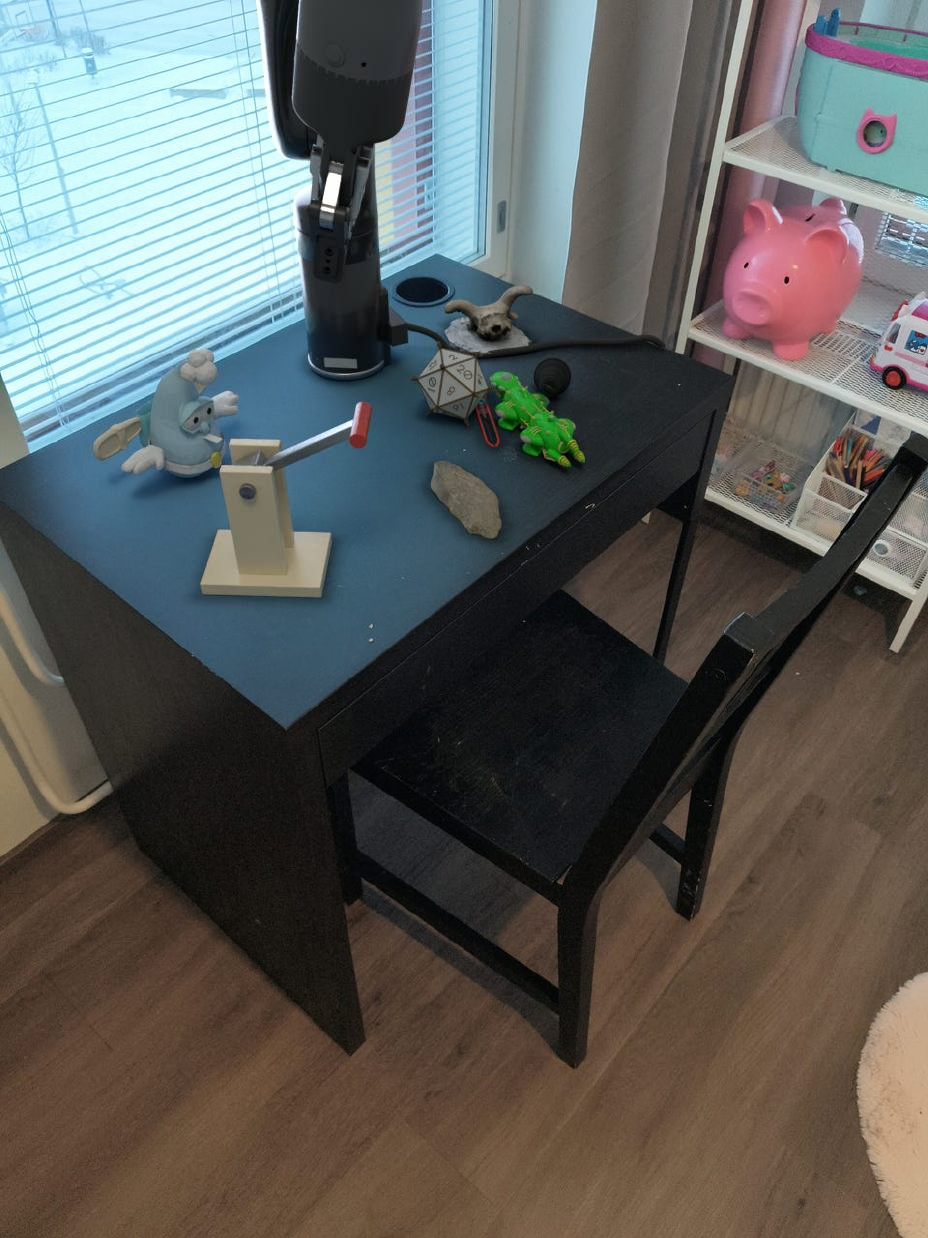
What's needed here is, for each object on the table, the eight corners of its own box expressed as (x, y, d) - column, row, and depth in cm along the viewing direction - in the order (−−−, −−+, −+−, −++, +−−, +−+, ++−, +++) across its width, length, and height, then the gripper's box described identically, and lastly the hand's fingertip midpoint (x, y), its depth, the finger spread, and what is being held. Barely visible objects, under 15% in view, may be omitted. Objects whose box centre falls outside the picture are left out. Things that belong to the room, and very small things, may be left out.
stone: (472, 552, 98) (515, 544, 100) (478, 531, 96) (522, 523, 98) (415, 470, 105) (457, 464, 108) (420, 448, 103) (462, 443, 106)
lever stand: (332, 542, 97) (320, 431, 88) (321, 598, 91) (307, 484, 83) (220, 539, 97) (197, 427, 88) (202, 594, 92) (175, 481, 83)
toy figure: (180, 528, 98) (148, 396, 88) (101, 496, 102) (61, 365, 92) (282, 445, 109) (264, 318, 99) (207, 419, 113) (182, 294, 102)
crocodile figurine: (520, 388, 118) (521, 356, 115) (602, 468, 107) (607, 434, 104) (470, 402, 116) (471, 368, 113) (549, 484, 104) (552, 450, 101)
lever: (378, 416, 85) (363, 394, 84) (372, 449, 82) (357, 426, 80) (253, 471, 90) (237, 451, 88) (243, 505, 86) (226, 485, 85)
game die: (467, 437, 117) (522, 375, 112) (438, 450, 110) (495, 384, 105) (415, 382, 118) (467, 318, 112) (382, 392, 110) (436, 324, 105)
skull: (439, 328, 130) (434, 287, 126) (524, 309, 131) (521, 268, 127) (457, 370, 123) (452, 328, 119) (546, 349, 124) (544, 307, 120)
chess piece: (558, 402, 117) (555, 417, 108) (526, 383, 117) (520, 396, 108) (578, 369, 116) (577, 382, 107) (546, 349, 115) (542, 360, 106)
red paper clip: (503, 444, 109) (503, 449, 110) (481, 376, 119) (481, 381, 119) (486, 445, 109) (486, 450, 109) (465, 377, 119) (465, 382, 119)
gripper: (402, 110, 59) (363, 341, 73) (426, 13, 67) (387, 238, 81) (276, 77, 58) (261, 317, 72) (316, -17, 66) (295, 215, 80)
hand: (328, 275), depth 76 cm, fingers closed
